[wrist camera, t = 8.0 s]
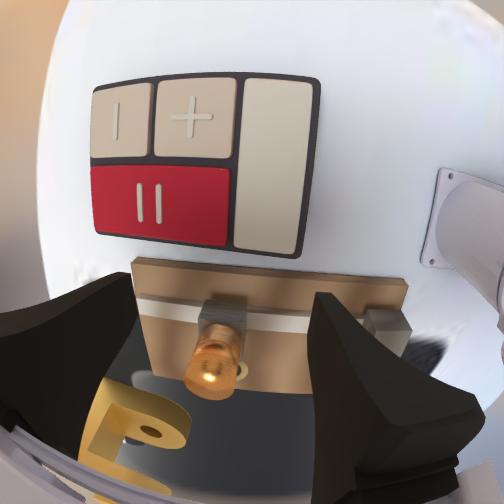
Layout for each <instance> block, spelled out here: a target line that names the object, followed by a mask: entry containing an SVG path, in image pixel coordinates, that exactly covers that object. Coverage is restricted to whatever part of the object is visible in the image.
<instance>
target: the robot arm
mask: <svg viewBox="0 0 504 504" xmlns="http://www.w3.org/2000/svg"><path fill="white" fill-rule="evenodd" d="M449 173H450V174H451V177H450V178H448V175H449ZM503 191H504V187H503V186H500V185H497V184H494V183H491V182H489V181H486V180H483V179H480V178H477V177H474V176H470V175H467V174H464V173H461V172H457V171H454V170H450V169H447V168H441V169H440V171H439V175H438V182H437V188H436V194H435V199H434V205H433V210H432V215H431V220H430V224H429V229H428V233H427V237H426V241H425V245H424V249H423V253H422V256H421V264H422V265H423V266H425V267H436V268H448V269H456V270H457V271H458V272H459V273H460V274H461V275H462V276H463V277H464V278H465V279H466V280H467V281H468V282H469V283H470V284H472V285H473V287H474V288H475V289H476V290H477V291H478V292H479V293H480V294H481V295H482V296H483V297H484V298H485V299H486V300H487V301H488V302H489V303H490V304H491V305H492V306H493V307H494V309H495V310H496V311H497V312H498V313H499V314H500V317H499V321H498V324H497V327H498V328H499V329H500V331H501V332H502V333H503V334H504V193H503ZM431 259H432V262H430V260H431ZM429 262H430V263H429ZM137 317H138V312H137V307H136V301H135V296H134V290H133V285H132V278H131V273H124V272H116V273H113V274H110V275H107V276H105V277H102V278H100V279H98V280H96V281H93V282H91V283H89V284H87V285H85V286H82V287H80V288H78V289H76V290H73V291H71V292H69V293H66V294H64V295H62V296H59V297H57V298H54V299H52V300H49V301H47V302H44V303H41V304H38V305H35V306H31V307H27V308H23V309H19V310H15V311H11V312H5V313H0V504H85V503H84V502H85V500H86V499H85V497H84V496H82V495H81V494H79V493H77V492H76V491H74V490H73V489H71V488H70V487H68V486H67V485H66V484H65V483H63V482H62V481H61V480H60V479H58V478H57V477H56V476H55V475H54V474H52V473H51V472H49V471H48V470H46V469H45V468H44V467H42V464H43V465H44V466H46V467H48V468H49V469H51V470H52V471H54V472H56V473H58V474H59V475H61V476H63V477H65V478H66V479H68V480H70V481H72V482H74V483H76V484H78V485H80V486H82V487H84V488H86V489H88V490H90V491H92V492H94V493H96V494H98V495H101V496H103V497H105V498H108V499H110V500H112V501H115V502H117V503H120V504H205V503H200V502H195V501H190V500H185V499H181V498H176V497H173V496H169V495H165V494H161V493H158V492H154V491H151V490H148V489H144V488H141V487H138V486H135V485H132V484H129V483H127V482H124V481H121V480H119V479H116V478H113V477H111V476H108V475H106V474H104V473H101V472H99V471H97V470H94V469H92V468H90V467H88V466H86V465H84V464H81V463H79V462H77V461H78V456H79V450H80V445H81V440H82V435H83V432H84V428H85V425H86V421H87V418H88V414H89V412H90V409H91V406H92V403H93V400H94V398H95V395H96V393H97V391H98V388H99V386H100V383H101V381H102V379H103V377H104V375H105V374H106V372H107V370H108V369H109V367H110V365H111V364H112V362H113V360H114V359H115V357H116V356H117V354H118V352H119V351H120V349H121V348H122V346H123V344H124V343H125V341H126V340H127V338H128V336H129V335H130V332H131V330H132V328H133V326H134V324H135V321H136V319H137ZM501 355H502V360H503V364H504V341H503V344H502V349H501ZM307 358H308V365H309V372H310V379H311V385H312V392H313V399H314V407H315V461H314V462H315V463H314V477H313V488H312V498H311V504H504V501H503V498H502V494H501V490H500V487H499V483H498V480H497V477H496V474H495V471H494V468H493V465H492V462H491V460H490V459H488V460H486V461H484V462H482V463H480V464H477V465H475V466H473V467H470V468H468V469H466V470H464V471H462V472H460V473H459V474H457V475H456V473H455V469H454V467H456V466H457V465H458V464H459V460H458V457H457V454H458V453H459V452H460V451H461V450H462V449H463V448H464V447H465V446H466V445H467V444H468V443H469V442H470V441H472V440H473V438H474V437H475V436H476V435H477V434H478V433H479V432H480V430H481V429H482V427H483V425H484V423H485V418H486V417H485V415H484V413H483V411H482V409H481V407H480V405H479V403H478V401H477V399H476V397H475V395H474V394H472V393H469V392H466V391H464V390H461V389H458V388H456V387H453V386H450V385H448V384H446V383H444V382H442V381H440V380H437V379H435V378H433V377H431V376H429V375H428V374H426V373H424V372H422V371H420V370H419V369H417V368H416V367H414V366H412V365H411V364H409V363H408V362H406V361H404V360H403V359H402V358H400V357H399V356H397V355H396V354H395V353H393V352H392V351H391V350H389V349H388V348H387V347H386V346H384V345H383V344H382V343H381V342H379V341H378V340H377V339H376V338H375V337H374V336H373V335H372V334H371V333H370V332H368V331H367V330H366V329H365V328H364V327H363V326H362V325H361V324H360V323H359V322H358V321H357V320H356V319H355V318H354V316H353V315H352V314H351V313H350V312H349V311H348V310H347V309H346V308H345V307H344V306H343V304H342V303H341V302H340V301H339V300H338V299H337V298H336V297H335V296H334V295H333V294H332V293H329V292H315V297H314V302H313V307H312V312H311V317H310V322H309V327H308V332H307Z"/></svg>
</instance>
